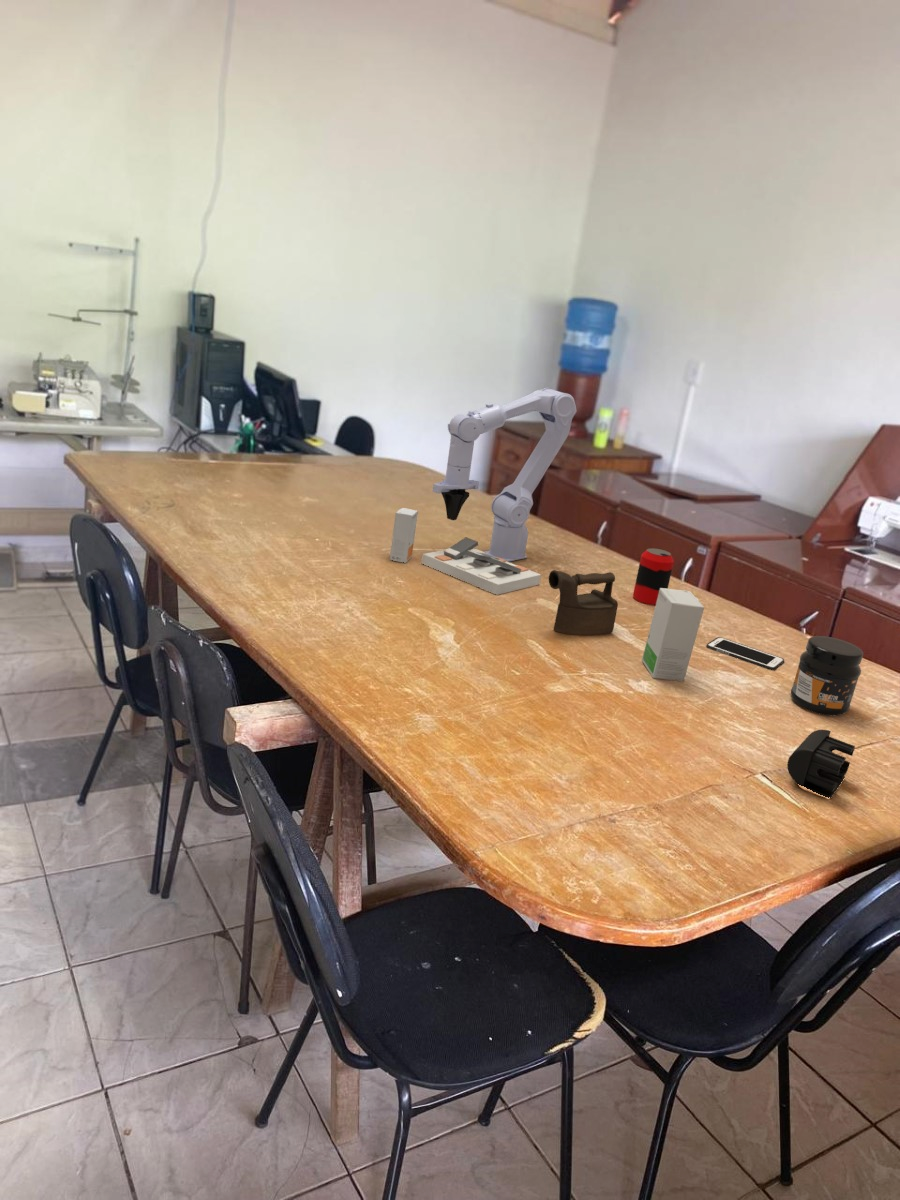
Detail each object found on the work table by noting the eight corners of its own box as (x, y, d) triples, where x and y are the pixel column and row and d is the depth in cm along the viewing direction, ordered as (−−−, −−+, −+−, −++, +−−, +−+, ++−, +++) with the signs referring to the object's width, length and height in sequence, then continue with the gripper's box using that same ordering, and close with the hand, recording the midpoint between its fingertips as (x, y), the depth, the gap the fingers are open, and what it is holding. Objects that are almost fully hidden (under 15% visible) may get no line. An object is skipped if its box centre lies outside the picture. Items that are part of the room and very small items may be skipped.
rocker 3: (506, 568, 213) (508, 563, 213) (519, 573, 211) (521, 568, 211) (488, 561, 207) (490, 556, 207) (501, 566, 204) (503, 561, 204)
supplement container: (788, 707, 163) (805, 647, 159) (789, 687, 173) (805, 629, 169) (849, 723, 160) (868, 662, 156) (847, 702, 170) (865, 644, 166)
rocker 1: (466, 540, 221) (465, 536, 220) (478, 545, 218) (477, 541, 218) (444, 555, 216) (443, 551, 216) (456, 559, 214) (455, 555, 213)
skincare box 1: (406, 563, 214) (412, 515, 210) (389, 560, 215) (394, 512, 211) (412, 557, 220) (418, 510, 216) (396, 554, 221) (401, 507, 217)
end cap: (800, 760, 144) (811, 723, 142) (845, 778, 140) (857, 740, 138) (781, 782, 136) (792, 743, 134) (828, 801, 132) (841, 762, 130)
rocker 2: (485, 558, 217) (487, 553, 217) (498, 562, 215) (499, 558, 215) (465, 554, 211) (466, 549, 211) (478, 559, 209) (479, 554, 208)
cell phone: (773, 672, 180) (774, 668, 179) (704, 648, 188) (705, 644, 187) (784, 663, 186) (785, 659, 186) (717, 640, 194) (718, 636, 193)
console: (465, 555, 227) (467, 542, 226) (539, 584, 213) (541, 571, 212) (421, 563, 216) (423, 550, 215) (496, 595, 201) (498, 580, 200)
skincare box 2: (641, 661, 175) (657, 586, 170) (673, 664, 176) (690, 590, 171) (653, 679, 167) (671, 601, 162) (687, 682, 168) (705, 605, 163)
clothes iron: (532, 624, 186) (542, 564, 182) (591, 619, 194) (603, 561, 190) (554, 639, 180) (565, 577, 176) (615, 633, 188) (627, 573, 184)
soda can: (645, 606, 208) (656, 557, 204) (626, 595, 214) (636, 547, 210) (670, 605, 211) (681, 556, 207) (650, 593, 218) (660, 546, 214)
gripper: (466, 459, 224) (459, 512, 228) (426, 462, 213) (419, 517, 218) (488, 466, 219) (480, 519, 224) (447, 469, 209) (440, 525, 213)
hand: (451, 519), depth 220 cm, fingers closed
